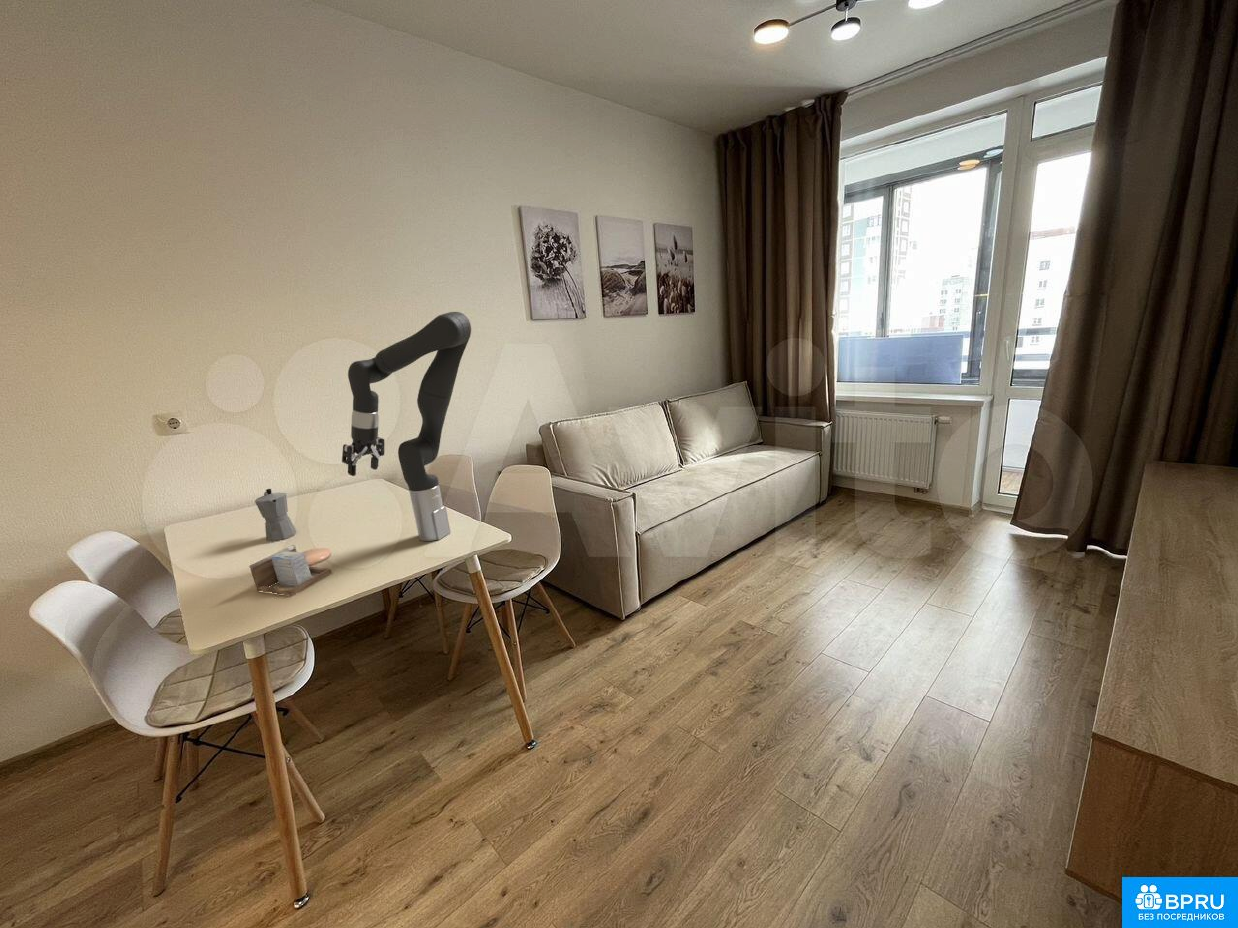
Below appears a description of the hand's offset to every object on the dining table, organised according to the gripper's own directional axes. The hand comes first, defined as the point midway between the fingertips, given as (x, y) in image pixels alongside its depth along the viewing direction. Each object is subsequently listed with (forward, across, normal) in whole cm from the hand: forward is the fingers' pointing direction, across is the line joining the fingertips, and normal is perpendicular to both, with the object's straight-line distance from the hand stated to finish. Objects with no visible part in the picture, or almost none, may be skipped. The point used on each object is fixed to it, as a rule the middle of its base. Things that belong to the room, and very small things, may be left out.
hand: (363, 471), depth 163 cm
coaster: (+27, -16, +4) cm, 31 cm away
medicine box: (+25, -28, -6) cm, 38 cm away
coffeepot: (+35, -3, +34) cm, 49 cm away
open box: (+24, -28, -6) cm, 38 cm away
